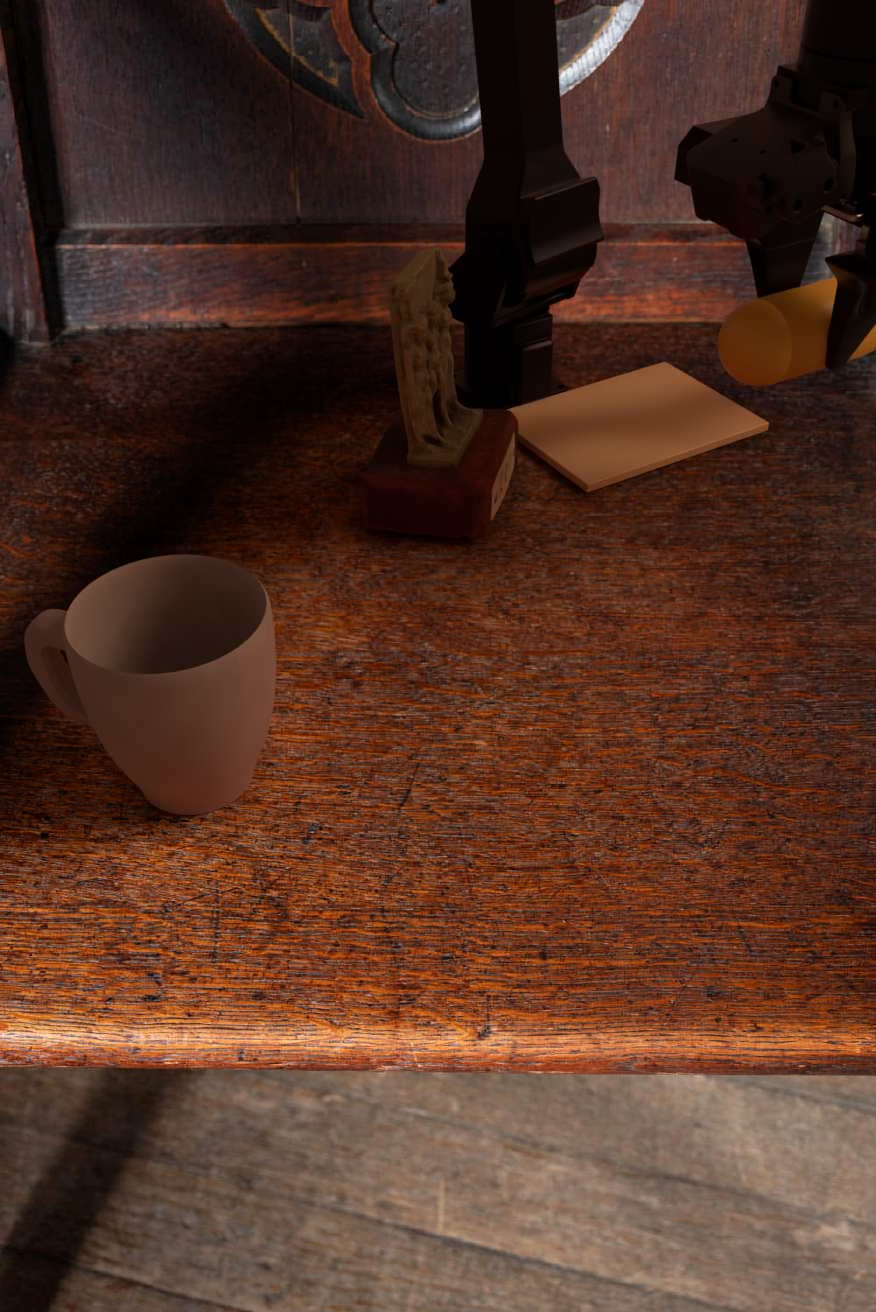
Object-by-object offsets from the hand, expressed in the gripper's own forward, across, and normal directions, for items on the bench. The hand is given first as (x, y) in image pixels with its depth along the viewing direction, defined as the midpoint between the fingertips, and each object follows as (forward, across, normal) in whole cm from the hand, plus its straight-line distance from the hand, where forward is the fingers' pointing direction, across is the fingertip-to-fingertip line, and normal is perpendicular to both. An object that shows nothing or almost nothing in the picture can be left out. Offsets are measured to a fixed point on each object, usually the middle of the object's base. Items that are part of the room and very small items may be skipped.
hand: (802, 350), depth 70 cm
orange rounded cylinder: (+1, 0, +1) cm, 2 cm away
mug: (+11, +2, -40) cm, 41 cm away
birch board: (+11, -13, -1) cm, 17 cm away
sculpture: (+11, -12, -16) cm, 23 cm away
